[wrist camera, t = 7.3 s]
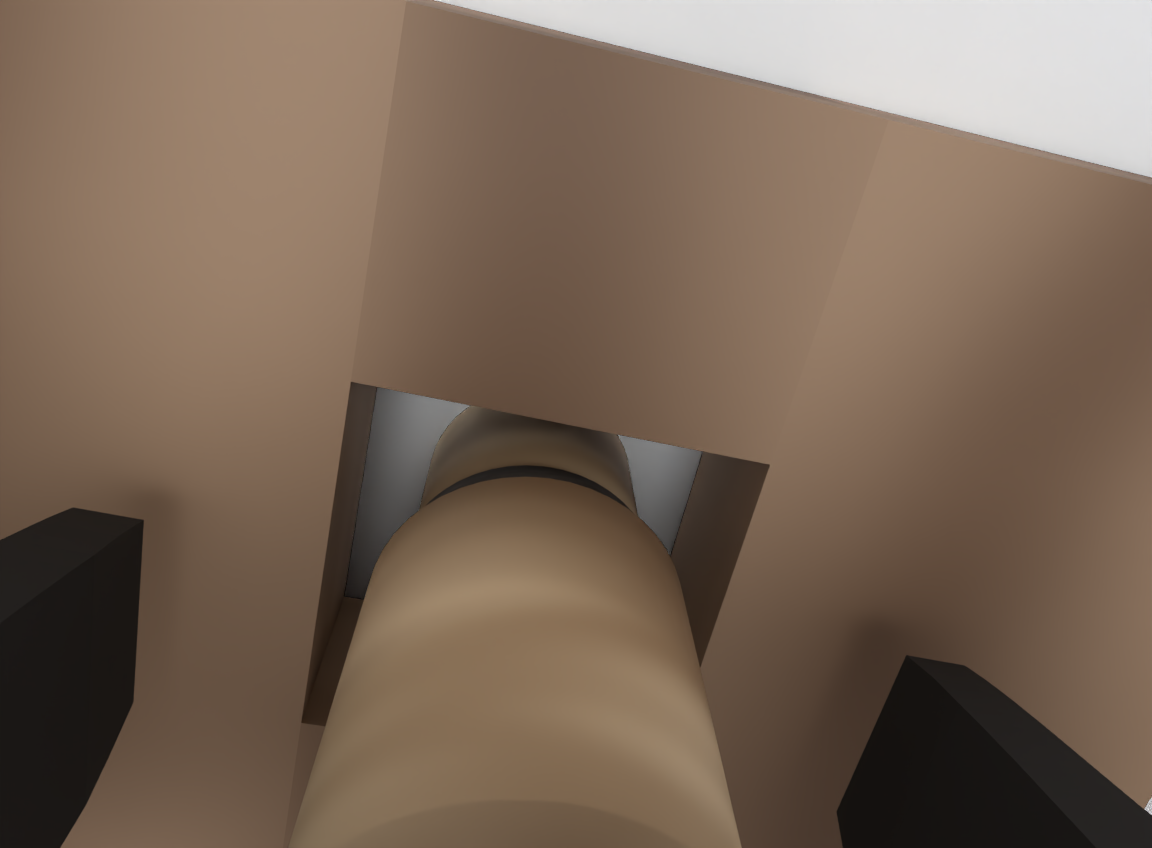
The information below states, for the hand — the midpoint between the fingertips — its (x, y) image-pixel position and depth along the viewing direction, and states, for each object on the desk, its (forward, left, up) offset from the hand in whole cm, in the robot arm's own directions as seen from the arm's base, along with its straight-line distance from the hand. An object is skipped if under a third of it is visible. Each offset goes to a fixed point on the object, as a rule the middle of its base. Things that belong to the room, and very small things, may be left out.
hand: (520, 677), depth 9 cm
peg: (0, 0, -4) cm, 4 cm away
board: (+1, +2, -4) cm, 4 cm away
